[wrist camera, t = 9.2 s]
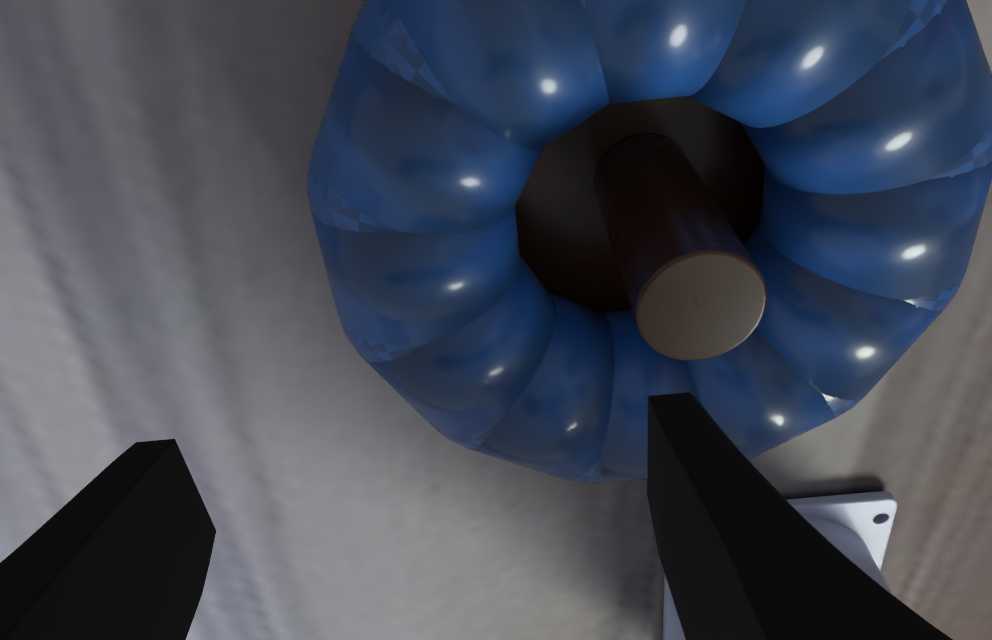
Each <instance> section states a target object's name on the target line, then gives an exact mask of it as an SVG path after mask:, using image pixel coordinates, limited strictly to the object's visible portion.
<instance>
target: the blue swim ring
mask: <svg viewBox="0 0 992 640" xmlns="http://www.w3.org/2000/svg"><path fill="white" fill-rule="evenodd" d="M682 96H686V97H688V98H691V99H693V100H695V101H697V102H699V103H701V104H703V105H705V106H707V107H709V108H712V109H714V110H716V111H718V112H720V113H722V114H724V115H726V116H728V117H730V118H733V119H735V120H737V121H739V122H741V123H742V125H743V127H744V129H745V131H746V132H747V134H748V136H749V138H750V140H751V142H752V143H753V145H754V147H755V149H756V151H757V152H758V154H759V156H760V158H761V160H762V161H763V163H764V165H765V176H764V186H763V196H762V206H761V216H760V221H759V223H758V224H757V226H756V227H755V229H754V230H753V231H752V233H751V234H750V236H749V237H748V239H747V240H746V241H745V243H744V244H743V246H744V247H745V249H746V250H747V252H748V253H749V255H750V257H751V258H752V260H753V261H754V263H755V264H756V266H757V267H758V269H759V271H760V272H761V274H762V276H763V278H764V281H765V284H766V289H767V302H766V308H765V311H764V314H763V317H762V319H761V321H760V323H759V325H758V326H757V328H756V329H755V330H754V332H753V333H752V334H751V335H750V336H749V337H748V338H747V339H746V340H745V341H744V342H742V343H741V344H740V345H739V346H737V347H735V348H734V349H732V350H731V351H729V352H726V353H724V354H722V355H719V356H717V357H713V358H709V359H704V360H694V361H688V360H679V359H674V358H671V357H668V356H665V355H663V354H661V353H659V352H658V351H656V350H655V349H653V348H652V347H651V346H650V345H648V344H647V342H646V341H645V340H644V339H643V338H642V336H641V334H640V333H639V330H638V328H637V325H636V322H635V319H634V316H633V313H632V309H631V310H621V311H610V312H599V311H597V310H594V309H591V308H589V307H586V306H583V305H581V304H578V303H576V302H573V301H570V300H568V299H565V298H563V297H560V296H557V295H555V294H552V293H550V292H549V291H548V290H547V289H546V288H545V286H544V285H543V284H542V283H541V281H540V280H539V279H538V278H537V276H536V275H535V274H534V273H533V271H532V270H531V269H530V268H529V266H528V265H527V264H526V263H525V261H524V260H523V259H522V258H521V256H520V255H519V244H518V234H517V223H516V213H515V205H516V203H517V201H518V199H519V197H520V195H521V193H522V191H523V189H524V187H525V185H526V183H527V181H528V179H529V177H530V175H531V173H532V171H533V169H534V167H535V165H536V163H537V161H538V159H539V157H540V155H541V153H542V151H543V149H544V148H545V147H547V146H548V145H550V144H551V143H553V142H554V141H556V140H557V139H558V138H560V137H561V136H563V135H564V134H566V133H567V132H569V131H570V130H572V129H573V128H575V127H576V126H577V125H579V124H580V123H582V122H583V121H585V120H586V119H588V118H589V117H591V116H592V115H594V114H595V113H596V112H598V111H599V110H601V109H602V108H604V107H605V106H607V105H608V104H616V103H625V102H634V101H644V100H653V99H663V98H672V97H682ZM991 180H992V73H991V70H990V67H989V65H988V62H987V59H986V56H985V53H984V50H983V47H982V44H981V42H980V39H979V36H978V33H977V30H976V27H975V24H974V21H973V18H972V16H971V13H970V10H969V7H968V4H967V1H966V0H365V2H364V3H363V5H362V7H361V9H360V10H359V13H358V15H357V18H356V20H355V23H354V25H353V28H352V31H351V34H350V37H349V40H348V43H347V46H346V49H345V52H344V55H343V58H342V61H341V64H340V67H339V70H338V73H337V76H336V80H335V83H334V86H333V89H332V92H331V95H330V98H329V101H328V104H327V107H326V110H325V113H324V116H323V119H322V122H321V125H320V128H319V131H318V134H317V137H316V140H315V143H314V146H313V150H312V155H311V158H310V162H309V166H308V174H307V189H308V197H309V202H310V209H311V213H312V217H313V221H314V224H315V228H316V232H317V236H318V240H319V244H320V248H321V252H322V255H323V259H324V263H325V267H326V271H327V275H328V279H329V283H330V286H331V290H332V294H333V298H334V302H335V306H336V310H337V313H338V316H339V319H340V323H341V326H342V328H343V330H344V332H345V335H346V336H347V337H348V339H349V341H350V342H351V344H352V345H353V346H354V348H355V349H356V350H357V352H358V353H359V354H360V355H361V356H362V357H363V359H364V360H365V361H366V362H367V363H369V364H370V365H371V366H372V367H373V368H374V369H375V370H376V371H377V372H378V373H379V374H380V375H381V376H382V377H383V378H384V379H385V380H386V381H387V382H388V383H389V384H390V385H391V386H392V387H393V388H394V389H395V390H396V391H397V392H398V393H399V394H400V395H401V396H402V397H403V398H404V399H405V400H406V401H407V402H408V403H409V404H410V405H411V406H412V407H413V408H414V409H415V410H417V411H418V412H419V413H420V414H421V415H422V416H423V417H424V418H425V419H426V420H427V421H428V422H429V423H430V424H431V425H432V426H433V427H434V428H435V429H436V430H437V431H438V432H440V433H441V434H442V435H444V436H445V437H446V438H448V439H449V440H451V441H453V442H455V443H457V444H459V445H461V446H464V447H466V448H468V449H471V450H474V451H477V452H480V453H483V454H487V455H490V456H493V457H496V458H499V459H502V460H505V461H509V462H512V463H515V464H518V465H521V466H524V467H527V468H530V469H534V470H537V471H540V472H543V473H546V474H549V475H552V476H555V477H559V478H562V479H565V480H569V481H573V482H578V483H594V484H599V483H611V482H623V481H635V480H646V479H647V455H648V396H652V395H663V394H674V393H685V392H690V393H691V394H692V395H693V396H695V397H696V398H697V399H698V401H699V402H700V403H701V405H702V406H703V407H704V408H705V410H706V411H707V412H708V413H709V415H710V416H711V417H712V418H713V420H714V421H715V422H716V423H717V424H718V426H719V427H720V428H721V429H722V430H723V432H724V433H725V434H726V435H727V436H728V438H729V439H730V440H731V441H732V442H733V443H734V444H735V446H736V447H737V448H738V449H739V450H740V451H741V452H742V454H743V455H744V456H745V457H746V458H747V459H748V460H749V459H751V458H753V457H755V456H757V455H759V454H761V453H764V452H766V451H768V450H770V449H772V448H774V447H776V446H778V445H780V444H782V443H784V442H786V441H788V440H791V439H793V438H795V437H797V436H799V435H801V434H803V433H805V432H807V431H809V430H811V429H813V428H815V427H818V426H820V425H822V424H824V423H826V422H828V421H830V420H832V419H834V418H836V417H838V416H840V415H841V414H843V413H845V412H846V411H848V410H850V409H851V408H853V407H854V406H855V405H856V404H857V403H858V402H859V401H860V400H862V399H863V398H864V397H865V396H866V395H867V394H868V392H869V391H870V390H871V389H872V388H873V387H874V386H875V385H876V384H877V383H878V381H879V380H880V379H881V378H882V377H883V376H884V375H885V374H886V373H887V372H888V370H889V369H890V368H891V367H892V366H893V365H894V364H895V363H896V362H897V361H898V359H899V358H900V357H901V356H902V355H903V354H904V353H905V352H906V351H907V350H908V348H909V347H910V346H911V345H912V344H913V343H914V342H915V341H916V340H917V339H918V337H919V336H920V335H921V334H922V333H923V332H924V331H925V330H926V329H927V328H928V326H929V325H930V324H931V323H932V322H933V321H934V320H935V319H936V318H937V317H938V315H939V314H940V313H941V312H942V311H943V310H944V309H945V308H946V306H947V305H948V304H949V302H950V301H951V300H952V298H953V297H954V296H955V294H956V292H957V290H958V288H959V286H960V284H961V282H962V280H963V277H964V275H965V273H966V270H967V266H968V263H969V259H970V256H971V252H972V248H973V245H974V241H975V238H976V234H977V230H978V227H979V223H980V220H981V216H982V212H983V209H984V205H985V202H986V198H987V194H988V191H989V187H990V184H991Z"/></svg>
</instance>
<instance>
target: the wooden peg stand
mask: <svg viewBox="0 0 992 640" xmlns="http://www.w3.org/2000/svg"><path fill="white" fill-rule="evenodd" d="M764 176H765V165H764V163H763V161H762V160H761V158H760V156H759V154H758V152H757V151H756V149H755V147H754V145H753V143H752V142H751V140H750V138H749V136H748V134H747V132H746V131H745V129H744V127H743V125H742V123H741V122H739V121H737V120H735V119H733V118H730V117H728V116H726V115H724V114H722V113H720V112H718V111H716V110H714V109H712V108H709V107H707V106H705V105H703V104H701V103H699V102H697V101H695V100H693V99H691V98H688V97H686V96H682V97H672V98H663V99H653V100H644V101H634V102H625V103H616V104H608V105H607V106H605V107H604V108H602V109H601V110H599V111H598V112H596V113H595V114H594V115H592V116H591V117H589V118H588V119H586V120H585V121H583V122H582V123H580V124H579V125H577V126H576V127H575V128H573V129H572V130H570V131H569V132H567V133H566V134H564V135H563V136H561V137H560V138H558V139H557V140H556V141H554V142H553V143H551V144H550V145H548V146H547V147H545V148H544V149H543V151H542V153H541V155H540V157H539V159H538V161H537V163H536V165H535V167H534V169H533V171H532V173H531V175H530V177H529V179H528V181H527V183H526V185H525V187H524V189H523V191H522V193H521V195H520V197H519V199H518V201H517V203H516V205H515V213H516V223H517V234H518V244H519V255H520V256H521V258H522V259H523V260H524V261H525V263H526V264H527V265H528V266H529V268H530V269H531V270H532V271H533V273H534V274H535V275H536V276H537V278H538V279H539V280H540V281H541V283H542V284H543V285H544V286H545V288H546V289H547V290H548V291H549V292H550V293H552V294H555V295H557V296H560V297H563V298H565V299H568V300H570V301H573V302H576V303H578V304H581V305H583V306H586V307H589V308H591V309H594V310H597V311H599V312H610V311H621V310H631V309H632V313H633V316H634V319H635V322H636V325H637V328H638V330H639V333H640V334H641V336H642V338H643V339H644V340H645V341H646V342H647V344H648V345H650V346H651V347H652V348H653V349H655V350H656V351H658V352H659V353H661V354H663V355H665V356H668V357H671V358H674V359H679V360H688V361H694V360H704V359H709V358H713V357H717V356H719V355H722V354H724V353H726V352H729V351H731V350H732V349H734V348H735V347H737V346H739V345H740V344H741V343H742V342H744V341H745V340H746V339H747V338H748V337H749V336H750V335H751V334H752V333H753V332H754V330H755V329H756V328H757V326H758V325H759V323H760V321H761V319H762V317H763V314H764V311H765V308H766V302H767V289H766V284H765V281H764V278H763V276H762V274H761V272H760V271H759V269H758V267H757V266H756V264H755V263H754V261H753V260H752V258H751V257H750V255H749V253H748V252H747V250H746V249H745V247H744V246H743V244H744V243H745V241H746V240H747V239H748V237H749V236H750V234H751V233H752V231H753V230H754V229H755V227H756V226H757V224H758V223H759V221H760V216H761V206H762V196H763V186H764Z"/></svg>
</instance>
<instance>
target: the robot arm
mask: <svg viewBox="0 0 992 640" xmlns="http://www.w3.org/2000/svg"><path fill="white" fill-rule="evenodd" d="M647 496H648V501H649V506H650V511H651V516H652V522H653V527H654V532H655V537H656V542H657V547H658V552H659V556H660V560H661V563H662V566H663V569H664V608H663V640H952V639H951V638H950V637H948V636H947V635H945V634H944V633H942V632H941V631H940V630H938V629H937V628H935V627H934V626H932V625H931V624H930V623H928V622H927V621H926V620H924V619H923V618H922V617H920V616H919V615H918V614H917V613H915V612H914V611H913V610H911V609H910V608H909V607H907V606H906V605H905V604H904V603H902V602H901V601H900V600H898V599H897V598H896V597H894V596H893V594H892V592H891V590H890V589H889V587H888V585H887V583H886V581H885V579H884V577H883V576H882V574H881V572H880V570H881V566H882V562H883V558H884V555H885V551H886V547H887V543H888V540H889V536H890V532H891V528H892V525H893V521H894V517H895V513H896V509H897V502H896V500H895V498H894V497H893V495H892V494H891V493H889V492H885V491H878V492H866V493H855V494H844V495H832V496H821V497H809V498H798V499H787V500H786V499H785V498H784V497H783V496H782V495H781V494H780V493H779V492H778V491H777V490H776V489H775V488H774V487H773V486H772V485H771V484H770V483H769V482H768V481H767V480H766V478H765V477H764V476H763V475H762V474H761V473H760V472H759V471H758V470H757V469H756V468H755V467H754V466H753V465H752V464H751V462H750V461H749V460H748V459H747V458H746V457H745V456H744V455H743V454H742V452H741V451H740V450H739V449H738V448H737V447H736V446H735V444H734V443H733V442H732V441H731V440H730V439H729V438H728V436H727V435H726V434H725V433H724V432H723V430H722V429H721V428H720V427H719V426H718V424H717V423H716V422H715V421H714V420H713V418H712V417H711V416H710V415H709V413H708V412H707V411H706V410H705V408H704V407H703V406H702V405H701V403H700V402H699V401H698V399H697V398H696V397H695V396H693V395H692V394H691V393H690V392H685V393H674V394H663V395H652V396H648V455H647ZM215 534H216V529H215V527H214V525H213V523H212V521H211V518H210V516H209V514H208V512H207V509H206V507H205V505H204V503H203V501H202V498H201V496H200V494H199V492H198V489H197V487H196V485H195V483H194V481H193V478H192V476H191V474H190V472H189V469H188V467H187V465H186V463H185V461H184V458H183V456H182V454H181V452H180V449H179V447H178V445H177V443H176V441H175V439H168V440H157V441H146V442H136V443H135V444H134V445H132V446H131V447H130V448H129V449H127V450H126V451H125V452H124V453H123V454H121V455H120V456H119V457H118V458H117V459H116V460H115V461H113V462H112V463H111V464H110V465H109V466H108V467H107V468H106V469H104V470H103V471H102V472H101V473H100V474H99V475H98V476H97V477H96V478H94V479H93V480H92V481H91V482H90V483H89V484H88V485H87V486H86V487H85V488H84V489H82V490H81V491H80V492H79V493H78V494H77V495H76V496H75V497H74V498H73V499H72V500H70V501H69V502H68V503H67V504H66V505H65V506H64V507H63V508H62V509H61V510H59V511H58V512H57V513H56V514H55V515H54V516H53V517H52V518H51V519H49V520H48V521H47V522H46V523H45V524H44V525H43V526H42V527H41V528H40V529H38V530H37V531H36V532H35V533H34V534H33V535H32V536H31V537H30V538H28V539H27V540H26V541H25V542H24V543H23V544H22V545H21V546H20V547H18V548H17V549H16V550H15V551H14V552H13V553H11V554H10V555H9V556H8V557H7V558H6V559H4V560H3V561H2V562H1V563H0V640H186V637H187V634H188V631H189V629H190V626H191V623H192V620H193V618H194V615H195V612H196V609H197V607H198V604H199V601H200V598H201V595H202V592H203V588H204V583H205V579H206V575H207V571H208V567H209V563H210V558H211V553H212V548H213V543H214V538H215Z"/></svg>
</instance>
